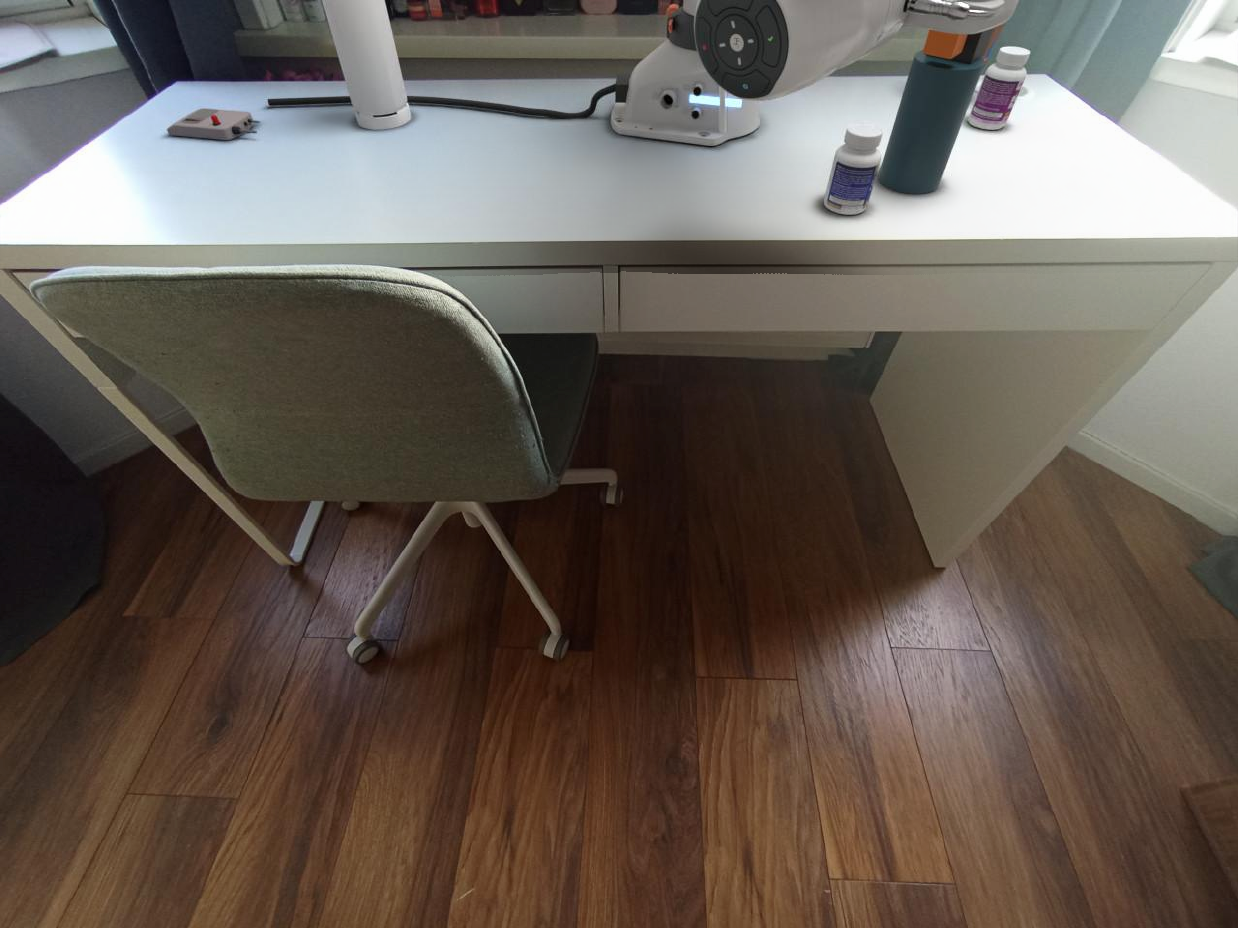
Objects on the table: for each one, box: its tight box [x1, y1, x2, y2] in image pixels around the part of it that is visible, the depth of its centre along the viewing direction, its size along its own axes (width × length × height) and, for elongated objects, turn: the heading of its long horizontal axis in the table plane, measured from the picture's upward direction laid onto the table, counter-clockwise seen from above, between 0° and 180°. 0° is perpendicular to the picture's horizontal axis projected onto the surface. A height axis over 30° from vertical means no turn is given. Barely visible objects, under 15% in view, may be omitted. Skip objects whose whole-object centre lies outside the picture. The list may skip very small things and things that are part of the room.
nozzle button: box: [922, 29, 968, 59], centre depth 69 cm, size 3×3×2 cm
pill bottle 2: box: [967, 45, 1031, 131], centre depth 92 cm, size 5×5×10 cm
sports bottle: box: [877, 28, 994, 195], centre depth 76 cm, size 8×8×19 cm
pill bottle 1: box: [823, 122, 884, 216], centre depth 75 cm, size 5×5×9 cm
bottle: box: [321, 0, 412, 131], centre depth 87 cm, size 8×8×28 cm
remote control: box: [166, 107, 261, 141], centre depth 93 cm, size 7×16×3 cm, turn 78°
